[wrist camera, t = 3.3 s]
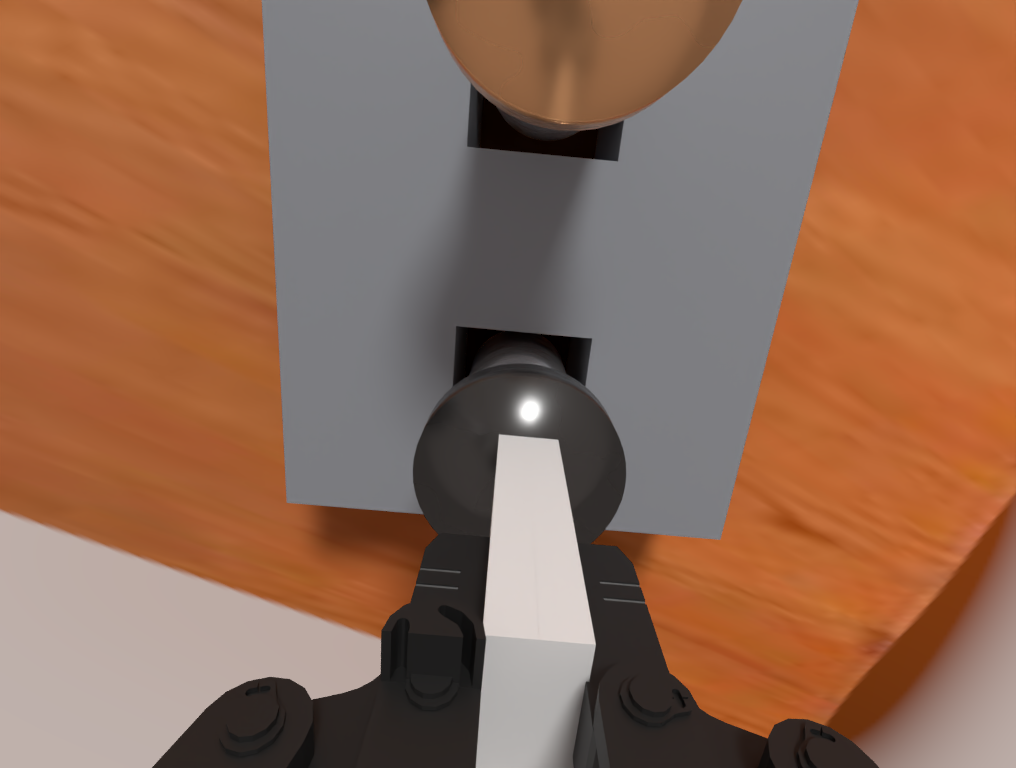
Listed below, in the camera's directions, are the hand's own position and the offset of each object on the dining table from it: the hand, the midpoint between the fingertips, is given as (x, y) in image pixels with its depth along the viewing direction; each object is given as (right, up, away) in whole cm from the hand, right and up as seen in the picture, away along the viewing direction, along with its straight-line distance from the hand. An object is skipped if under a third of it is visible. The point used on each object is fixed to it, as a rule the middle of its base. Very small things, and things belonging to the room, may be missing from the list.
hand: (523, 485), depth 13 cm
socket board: (+1, +9, +10) cm, 14 cm away
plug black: (0, +3, +9) cm, 9 cm away
